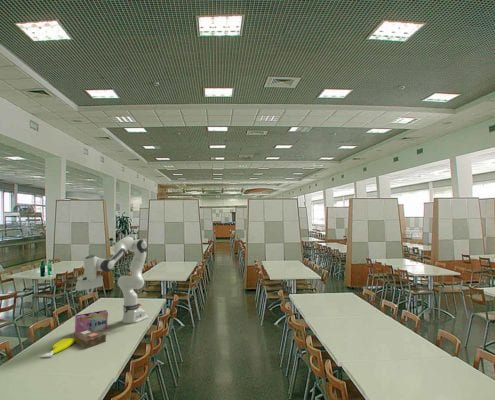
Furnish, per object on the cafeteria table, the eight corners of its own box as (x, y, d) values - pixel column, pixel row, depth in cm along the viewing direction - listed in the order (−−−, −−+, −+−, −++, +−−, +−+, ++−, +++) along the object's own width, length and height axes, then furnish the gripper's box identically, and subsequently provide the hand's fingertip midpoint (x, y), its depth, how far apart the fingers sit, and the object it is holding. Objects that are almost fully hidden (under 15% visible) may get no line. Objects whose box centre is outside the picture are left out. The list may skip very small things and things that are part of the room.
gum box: (107, 326, 257) (107, 309, 258) (109, 328, 250) (109, 311, 251) (74, 332, 243) (75, 315, 244) (75, 335, 236) (76, 317, 237)
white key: (87, 335, 230) (87, 330, 231) (90, 337, 228) (90, 331, 228) (80, 338, 226) (80, 332, 226) (83, 339, 223) (83, 333, 224)
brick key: (94, 338, 225) (94, 332, 225) (98, 339, 222) (98, 334, 222) (87, 340, 221) (87, 335, 221) (91, 342, 218) (91, 336, 218)
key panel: (91, 335, 235) (91, 329, 236) (105, 341, 224) (105, 334, 224) (72, 342, 224) (72, 335, 224) (86, 348, 213) (86, 340, 213)
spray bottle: (76, 341, 223) (54, 358, 198) (61, 342, 223) (37, 359, 199) (76, 337, 223) (54, 354, 198) (61, 338, 223) (37, 354, 199)
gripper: (100, 274, 250) (100, 291, 249) (74, 278, 233) (74, 296, 232) (104, 274, 247) (104, 292, 246) (79, 279, 230) (78, 297, 229)
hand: (89, 294), depth 239 cm, fingers closed
